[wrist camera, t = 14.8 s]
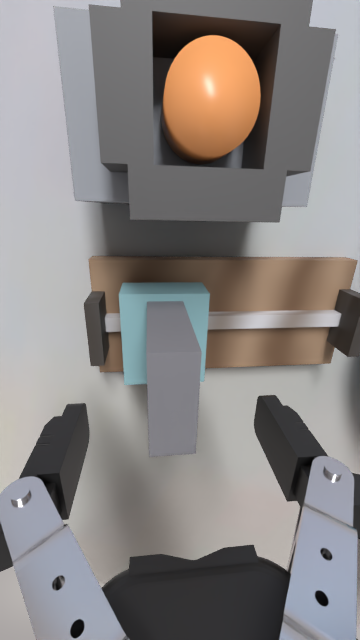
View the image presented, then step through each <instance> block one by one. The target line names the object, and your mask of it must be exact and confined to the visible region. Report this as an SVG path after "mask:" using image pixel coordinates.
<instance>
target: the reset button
mask: <svg viewBox="0 0 360 640" xmlns="http://www.w3.org/2000/svg"><path fill="white" fill-rule="evenodd" d="M260 97H261V93H260V83H259V78H258V74H257V71H256V68H255V66H254V64H253V62H252V60H251V58H250V57H249V55H248V54H247V52H246V51H245V50H244V49H243V48H242V47H241V46H240V45H238V44H237V43H236V42H234V41H232V40H231V39H229V38H226V37H223V36H217V35H209V36H203V37H200V38H197V39H195V40H194V41H192V42H190V43H189V44H187V45H186V46H185V47H184V48H183V49H182V50H181V51H180V52H179V53H178V55H177V56H176V57H175V59H174V61H173V63H172V64H171V66H170V69H169V71H168V74H167V78H166V82H165V89H164V96H163V103H162V110H161V122H162V128H163V132H164V136H165V138H166V140H167V142H168V144H169V146H170V147H171V149H172V150H173V151H174V152H175V153H176V154H177V155H178V156H179V157H180V158H182V159H183V160H185V161H187V162H189V163H193V164H199V165H202V164H209V163H212V162H215V161H217V160H219V159H220V158H222V157H223V156H225V155H226V154H228V153H229V152H231V151H232V150H234V149H235V148H236V147H238V146H239V145H240V144H241V143H242V142H243V141H244V140H245V139H246V138H247V136H248V135H249V133H250V132H251V130H252V128H253V126H254V124H255V122H256V119H257V116H258V112H259V107H260Z"/></svg>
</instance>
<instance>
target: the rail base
mask: <svg viewBox="0 0 360 640" xmlns="http://www.w3.org/2000/svg"><path fill="white" fill-rule="evenodd" d="M356 265H357V260H354V259H350V258H341V257H156V256H92V257H91V258H90V259H89V268H90V278H91V288H92V292H91V293H90V295H89V296H88V298H87V299H86V301H85V302H84V310H85V319H86V328H87V336H88V345H89V354H90V362H91V366H100V372H120V371H124V368H123V353H122V337H121V321H120V306H119V292H120V289H121V286H122V283H162V282H202V283H203V285H204V286H205V287H206V289H207V290H208V292H209V293H210V300H209V315H208V330H207V345H206V360H205V368H224V367H249V366H275V365H301V364H327V363H331V359H332V355H333V352H334V348H337V349H338V350H339V351H341V352H342V353H343V354H345V355H346V356H347V357H354V356H359V354H360V293H358V292H355V291H353V290H351V289H350V287H351V284H352V280H353V276H354V272H355V269H356Z"/></svg>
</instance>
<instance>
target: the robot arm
mask: <svg viewBox="0 0 360 640" xmlns="http://www.w3.org/2000/svg"><path fill="white" fill-rule="evenodd" d="M254 429H255V433H256V436H257V438H258V440H259V442H260V444H261V446H262V449H263V451H264V453H265V455H266V457H267V459H268V461H269V464H270V466H271V468H272V470H273V472H274V474H275V476H276V479H277V481H278V483H279V485H280V487H281V489H282V491H283V494H284V496H285V498H286V500H287V502H288V501H298V503H299V505H300V510H299V514H298V519H297V524H296V529H295V533H294V538H293V543H292V548H291V552H290V557H289V561H288V565H287V570H285V569H284V568H282V567H281V566H279V565H278V564H276V563H274V562H272V561H270V560H267V559H265V558H262V557H258V556H257V554H256V551H255V548H254V545H247V546H237V547H227V548H223V549H220V550H218V551H216V552H213V553H211V554H209V555H207V556H204V557H202V558H200V559H198V560H187V559H183V558H178V557H173V556H168V555H163V554H157V555H147V556H138V557H130V563H129V569H128V570H126V571H123V572H122V573H120V574H118V575H116V576H115V577H114V578H112V579H111V580H110V581H108V582H107V583H106V584H105V585H104V586H103V587H102V588H100V585H99V583H98V581H97V579H96V577H95V575H94V573H93V572H92V570H91V568H90V566H89V564H88V562H87V560H86V558H85V556H84V554H83V552H82V550H81V548H80V546H79V544H78V543H77V541H76V539H75V537H74V535H73V533H72V531H71V529H70V527H69V526H68V525H67V524H64V523H63V521H62V520H66V519H69V515H70V511H71V508H72V504H73V500H74V496H75V493H76V489H77V485H78V481H79V478H80V474H81V470H82V466H83V463H84V459H85V455H86V451H87V448H88V443H89V424H88V416H87V408H86V404H85V403H80V404H67V406H66V408H65V410H64V412H63V415H62V416H57V417H53V418H52V419H51V420H50V421H49V422H48V423H47V424H46V425H45V426H44V429H43V431H42V433H41V435H40V438H39V439H38V441H37V443H36V446H35V447H34V449H33V451H32V453H31V455H30V457H29V459H28V461H27V463H26V465H25V467H24V469H23V471H22V473H21V475H20V477H19V479H18V480H16V481H14V482H13V483H11V484H10V485H8V486H7V487H6V488H5V489H4V490H3V491H2V492H1V494H0V572H1V571H3V570H5V569H8V568H10V567H12V566H14V569H15V572H16V576H17V579H18V582H19V586H20V589H21V592H22V595H23V598H24V602H25V605H26V608H27V612H28V615H29V618H30V621H31V625H32V628H33V631H34V634H35V637H36V640H358V639H357V638H356V620H357V542H358V539H360V475H359V474H354V473H352V472H351V471H350V470H349V468H348V467H347V466H345V465H344V464H343V463H342V462H340V461H338V460H336V459H334V458H331V457H328V455H327V454H326V452H325V451H324V450H323V448H322V447H321V446H320V444H319V443H318V441H317V440H316V439H315V437H314V436H313V434H312V433H311V432H310V430H308V427H307V426H306V425H305V423H303V421H302V419H301V418H300V416H299V415H298V414H297V412H295V411H294V410H293V409H291V408H290V407H289V406H283V405H282V404H281V402H280V401H279V399H278V398H277V396H275V395H266V396H259V397H258V399H257V405H256V412H255V419H254Z"/></svg>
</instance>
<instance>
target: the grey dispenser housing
mask: <svg viewBox="0 0 360 640" xmlns="http://www.w3.org/2000/svg"><path fill="white" fill-rule="evenodd" d="M120 1H121V8H119V7H109V6H99V5H89V10H86V9H76V8H66V7H56V6H53V9H54V17H55V26H56V35H57V44H58V53H59V62H60V71H61V80H62V89H63V98H64V107H65V116H66V125H67V134H68V143H69V152H70V161H71V170H72V179H73V188H74V197H75V201H87V202H99V203H129V210H130V220H178V221H229V222H280V215H281V208H282V207H307V203H308V198H309V192H310V187H311V181H312V176H313V170H314V165H315V159H316V154H317V148H318V143H319V138H320V132H321V127H322V121H323V116H324V110H325V105H326V99H327V94H328V88H329V83H330V77H331V72H332V66H333V61H334V55H335V50H336V44H337V39H338V34H335V31H336V29H328V28H318V27H309V22H310V16H311V9H312V2H313V0H120ZM209 35H217V36H223V37H226V38H229V39H231V40H232V41H234V42H236V43H237V44H238V45H240V46H241V47H242V48H243V49H244V50H245V51H246V52H247V54H248V55H249V57H250V58H251V60H252V62H253V64H254V66H255V68H256V71H257V74H258V78H259V83H260V93H261V97H260V107H259V112H258V116H257V119H256V122H255V124H254V126H253V128H252V130H251V132H250V133H249V135H248V136H247V138H246V139H245V140H244V141H243V142H242V143H241V144H240V145H239V146H238V147H236V148H235V149H234V150H232V151H231V152H229V153H228V154H226V155H225V156H223V157H222V158H220V159H219V160H217V161H215V162H212V163H209V164H202V165H199V164H193V163H189V162H187V161H185V160H183V159H182V158H180V157H179V156H178V155H177V154H176V153H175V152H174V151H173V150H172V149H171V147H170V146H169V144H168V142H167V140H166V138H165V136H164V132H163V128H162V122H161V110H162V103H163V96H164V89H165V82H166V78H167V74H168V71H169V69H170V66H171V64H172V63H173V61H174V59H175V57H176V56H177V55H178V53H179V52H180V51H181V50H182V49H183V48H184V47H185V46H186V45H187V44H189V43H190V42H192V41H194V40H195V39H197V38H200V37H203V36H209Z"/></svg>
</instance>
